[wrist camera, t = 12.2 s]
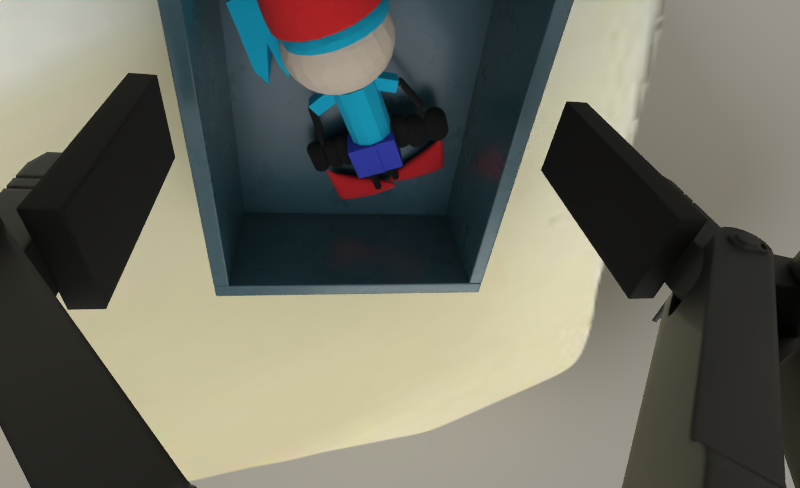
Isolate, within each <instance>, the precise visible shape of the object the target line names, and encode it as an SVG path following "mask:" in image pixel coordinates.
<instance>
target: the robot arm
mask: <svg viewBox="0 0 800 488" xmlns="http://www.w3.org/2000/svg"><path fill="white" fill-rule="evenodd" d="M174 159H175V155H174V150H173V146H172V141H171V137H170V132H169V128H168V123H167V119H166V114H165V110H164V105H163V101H162V96H161V92H160V87H159V83H158V78H157V75H151V74H135V73H128V74H127V75H126V77H125V78H124V79H123V80H122V81H121V83H120V84H119V85H118V86H117V87H116V89H115V90H114V91H113V92H112V93H111V95H110V96H109V97H108V98H107V99H106V101H105V102H104V103H103V104H102V106H101V107H100V108H99V109H98V110H97V112H96V113H95V114H94V115H93V116H92V118H91V119H90V120H89V121H88V122H87V124H86V125H85V126H84V127H83V128H82V130H81V131H80V132H79V133H78V135H77V136H76V137H75V138H74V139H73V141H72V142H71V143H70V144H69V145H68V147H67V148H66V149H65V150H64V151H63V153H57V152H46V153H45V154H43V155H41V156H39V157H37V158H36V159H34V160H32V161H30V162H28V163H27V164H26V165H25V166H24V167H23V168H22V169H21V171H20V172H19V173H18V174H17V175H16V178H13V179H12V180H11V182H10V183H9V184H8V185H7V189H3V190H2V191H1V193H0V426H1V428H2V430H3V432H4V434H5V436H6V438H7V440H8V442H9V444H10V446H11V448H12V450H13V453H14V455H15V457H16V459H17V461H18V463H19V465H20V467H21V469H22V471H23V472H24V474H25V477H26V479H27V481H28V483H29V484H30V487H31V488H196V487H195V486H193V485H191V484H190V483H189V482H188V481H187V479H186V478H185V477H184V475H183V474H182V473H181V471H180V470H179V469H178V467H177V466H176V464H175V463H174V462H173V460H172V459H171V457H170V456H169V454H168V453H167V452H166V450H165V449H164V447H163V446H162V445H161V443H160V442H159V440H158V439H157V438H156V436H155V435H154V433H153V432H152V431H151V429H150V428H149V426H148V425H147V424H146V422H145V421H144V419H143V418H142V417H141V415H140V414H139V412H138V411H137V410H136V408H135V407H134V405H133V404H132V403H131V401H130V400H129V398H128V397H127V396H126V394H125V393H124V391H123V390H122V389H121V387H120V386H119V384H118V383H117V382H116V380H115V379H114V377H113V376H112V375H111V373H110V372H109V370H108V369H107V368H106V366H105V365H104V363H103V362H102V361H101V359H100V358H99V356H98V355H97V354H96V352H95V351H94V349H93V348H92V347H91V345H90V344H89V342H88V341H87V340H86V338H85V337H84V335H83V334H82V333H81V331H80V330H79V328H78V327H77V326H76V324H75V323H74V321H73V320H72V319H71V317H70V316H69V314H68V313H67V312H66V310H65V309H64V307H63V306H62V305H61V303H60V302H59V300H58V299H57V297H56V295H57V293H58V292H59V293H60V295H61V297H62V299H63V301H64V303H65V305H66V307H67V309H68V310H71V309H106V308H107V306H108V303H109V301H110V299H111V297H112V295H113V292H114V290H115V288H116V286H117V284H118V282H119V279H120V277H121V275H122V273H123V271H124V268H125V266H126V264H127V262H128V260H129V257H130V255H131V253H132V251H133V249H134V246H135V244H136V242H137V240H138V238H139V235H140V233H141V231H142V229H143V227H144V225H145V222H146V220H147V218H148V216H149V214H150V211H151V209H152V207H153V205H154V203H155V200H156V198H157V196H158V194H159V192H160V189H161V187H162V185H163V183H164V181H165V178H166V176H167V174H168V172H169V170H170V167H171V165H172V163H173V161H174ZM541 171H542V172H543V174H544V175H545V177H546V178H547V180H548V181H549V183H550V184H551V185H552V187H553V188H554V190H555V191H556V193H557V194H558V196H559V197H560V199H561V200H562V202H563V203H564V205H565V206H566V207H567V209H568V210H569V212H570V213H571V215H572V216H573V218H574V219H575V221H576V222H577V224H578V225H579V227H580V228H581V229H582V231H583V232H584V234H585V235H586V237H587V238H588V240H589V241H590V243H591V244H592V246H593V247H594V249H595V250H596V251H597V253H598V254H599V256H600V257H601V259H602V260H603V262H604V263H605V265H606V266H607V268H608V269H609V270H610V272H611V273H612V275H613V276H614V278H615V279H616V281H617V282H618V284H619V285H620V286H621V288H622V290H623V291H624V293H625V294H626V295H627V297H628V298H629V299H633V298H634V299H636V298H654V296H655V295H656V293H657V292H658V291H659V289H660V288H661V286H662V285H663V283H664V282H665V283H666V284H667V285H668V287H669V288H670V289H671V290H672V293H671V295H670V296H669V297H668V299H667V300H666V302H665V303H664V304H663V306H662V307H661V309H660V310H659V311H658V313H657V314H656V315H655V317H654V318H653V320H652V321H654V322H657V320H658V319H659V318H661V322H660V327H659V331H658V335H657V340H656V344H655V348H654V353H653V357H652V361H651V365H650V370H649V374H648V378H647V383H646V387H645V391H644V395H643V400H642V404H641V408H640V413H639V417H638V421H637V425H636V430H635V434H634V438H633V442H632V447H631V451H630V455H629V460H628V464H627V468H626V473H625V477H624V481H623V485H622V488H786V484H785V467H784V455H785V459H786V461H787V464H788V467H789V470H790V473H791V476H792V479H793V482H794V485H795V488H800V252H799V253H798V254H797V255H796V256H795V257H794V258H788V257H783V256H779V255H774V254H773V252H772V250H771V248H770V247H769V246H768V245H767V244H766V243H765V242H764V241H762V240H761V239H760V238H758V237H757V236H755V235H753V234H751V233H749V232H746V231H744V230H740V229H737V228H733V227H722V228H721V227H719V226H718V225H717V224H716V223H715V222H714V221H713V220H712V219H711V218H710V217H709V216H708V215H707V214H706V213H705V212H704V211H703V210H702V209H701V208H700V207H699V206H697V205H696V204H695V203H692V200H691V199H690V198H689V197H688V196H687V195H685V194H684V192H683V191H682V190H681V189H680V188H678V187H677V185H676V184H674V183H673V182H672V181H670V180H669V179H667V178H665V177H664V176H662V175H661V174H660V173H659V172H658V171H657V170H656V169H655V168H654V167H653V166H652V165H651V164H650V163H649V162H648V161H647V160H645V159H644V158H643V157H642V156H641V155H640V154H639V153H638V152H637V151H636V150H635V149H634V148H633V147H632V146H631V145H630V144H629V143H628V142H627V141H626V140H625V139H624V138H623V137H622V136H621V135H620V134H619V133H618V132H616V131H615V130H614V129H613V128H612V127H611V126H610V125H609V124H608V123H607V122H606V121H605V120H604V119H603V118H602V117H601V116H600V115H599V114H598V113H597V112H596V111H595V110H594V109H593V108H592V107H591V106H590V105H589V104H587V103H582V102H566V104H565V107H564V110H563V112H562V115H561V118H560V121H559V123H558V126H557V129H556V131H555V134H554V137H553V140H552V142H551V145H550V148H549V150H548V153H547V156H546V159H545V161H544V164H543V167H542V169H541Z"/></svg>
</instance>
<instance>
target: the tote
mask: <svg viewBox="0 0 800 488" xmlns="http://www.w3.org/2000/svg"><path fill="white" fill-rule="evenodd" d="M573 1H574V0H389V2H390V3H389V13H390V15H391V17H392V20H393V22H394V25H395V46H394V50H393V54H392V57H391V59H390V61H389V63H388V65H387V67H386V68H385V69H384V72H390V73H397V74H398V78H400V77H401V78H403V79H404V80H405V82H406V83H407V84H408V85H409V86H410V87H411V89H412V90H413V91H414V92H415V93H416V94H417V96H418V97H419V98H420V99H421V100H422V101H423V103H424V105H425V106H424V108H423V110H424V113H425V111H426V110H427V109H429V108H430V107H439V108H441V109H442V110H443V111H444V112H445V114H446V118H447V123H448V128H449V131H448V134H447V136H446V137H445V138H444V139H443V140H442V144H443V157H444V163H443V167H442V168H440V169H439V170H436V171H434V172H431V173H428V174H425V175H422V176H419V177H415V178H411V179H406V180H400V181H390V182H393V183H394V184H395V186H394V187H393V188H391V189H388V190H386V191H383V192H380V193H377V194H374V195H369V196H364V197H359V198H354V199H342V198H341V197H340V196H339V194H338V193H337V191H336V189H335V187H334V185H333V183H332V181H331V179H330V177H329V175H328V173H327V170H329V171H332V172H335V173H341V174H348V175H355V176H358V175H357V172H356V170H355V168H354V166H353V164H351V165H345V164H343V165H342V166H341V167H339V168H334V167H332V166H331V165H330V166H329V168H328V169H327V170H326V171H324V172H320V171H317V170H316V169H315V167H314V165H313V163H312V161H311V159H310V157H309V155H308V153H307V146H308V144H309V143H311V142H313V141H317V142H319V140H318V137H317V135H316V133H315V127H314V125H313V122H312V119H311V116H310V113H309V111H308V104H309V98H310V97H311V96H312V95H314V94H315V93H316V92H315V91H312V90H310V89H308V88H306V87H305V86H303V85H302V84H301V83H299V82H298V81H296V80H295V79H294V78H293V77H292V75H291V74H290V73H289V78H288V76H287V75H286V74H285V73H284V71H283V70H282V69H281V67H280V66H279V65H278V63H277V61H276V59H275V57H274V55H273V53H272V52H271V61H272V65H271V72H270V79H269V84H268V83H267V82H265V81H264V80H263V79H262V78H261V77H260V76H258V75H257V74H256V73H255V72H254V69H253V67H252V65H251V62H250V60H249V57H248V55H247V53H246V50H245V48H244V45H243V43H242V40H241V38H240V36H239V33H238V31H237V28H236V26H235V24H234V21H233V19H232V16H231V14H230V12H229V9H228V7H227V4H226V2H227V0H158V5H159V10H160V15H161V20H162V25H163V30H164V35H165V40H166V46H167V51H168V56H169V61H170V66H171V71H172V76H173V81H174V86H175V91H176V96H177V101H178V106H179V111H180V116H181V121H182V126H183V131H184V136H185V141H186V147H187V152H188V157H189V162H190V167H191V172H192V177H193V182H194V187H195V192H196V197H197V202H198V207H199V212H200V217H201V222H202V227H203V232H204V237H205V243H206V248H207V253H208V258H209V263H210V268H211V273H212V278H213V283H214V287H215V292H216V295H217V296H246V295H313V294H380V293H447V292H478V291H479V288H480V285H481V282H482V279H483V276H484V273H485V270H486V267H487V264H488V261H489V258H490V255H491V252H492V249H493V246H494V243H495V239H496V236H497V233H498V230H499V227H500V224H501V221H502V218H503V215H504V212H505V209H506V206H507V203H508V200H509V197H510V194H511V191H512V188H513V184H514V181H515V178H516V175H517V172H518V169H519V166H520V163H521V160H522V157H523V154H524V151H525V148H526V145H527V142H528V139H529V136H530V132H531V129H532V126H533V123H534V120H535V117H536V114H537V111H538V108H539V105H540V102H541V99H542V96H543V93H544V90H545V87H546V84H547V81H548V77H549V74H550V71H551V68H552V65H553V62H554V59H555V56H556V53H557V50H558V47H559V44H560V41H561V38H562V35H563V32H564V29H565V26H566V22H567V19H568V16H569V13H570V10H571V7H572V4H573ZM381 94H382V97H383V100H384V103H385V106H386V109H387V112H388V115H389V117H390V116H392V115H394V114H401V115H403V116H404V117H406V116H408V115H409V114H418V115H419V112H418V109H417V105H416V104H415V103H414V102H413V101H412V100H411V99H410V97H409V96H408V95H407V94H406V93H405V92H404V91H403V89H402V88H401V87H400V86H399V85H398V87H397V91H396V93H392V92H385V91H381ZM319 117H320V120H321V123H322V126H323V129H324V134H323V135H322V136H323V138H324V140H325V139H327V138H334V139H335V137H336V136H338V135H339V134H345V135H350V133H349V131H348V129H347V127H346V124H345V122H344V120H343V117H342V115H341V113H340V111H339V108H338V106H337V104H336V103H335V104H334V105H333V106H331V107H330V108H329V109H328V110H326V111H325V112H324V113H322V114H321V115H320V116H319ZM433 143H435V141H434V140H431V139H430V138H429V137H428V139H427V141H426V143H425V144H424V145H423V146H421V147H412V146H410V145H408V146H406V147H404V148H400V150H401V156H402V163H403V165H404V164H405V163H407V162H408V161H409V160H411V159H412V158H414V157H415V156H416V155H418V154H419V153H421V152H422V151H423V150H425V149H426V148H427V147H429V146H430V145H432V144H433ZM398 168H400V167H398ZM398 168H396V169H398ZM377 176H378V178H379V179H383V180H387V181H389V178H390V176H391V174H390V171H389V170H387V171H385V172H382V173H379V174H377ZM367 177H369V178H371V177H370V176H367Z"/></svg>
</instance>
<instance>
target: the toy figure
mask: <svg viewBox="0 0 800 488" xmlns="http://www.w3.org/2000/svg"><path fill="white" fill-rule="evenodd" d="M389 3H390V2H389V0H227V2H226V4H227V7H228V9H229V12H230V14H231V16H232V19H233V21H234V24H235V26H236V28H237V31H238V33H239V36H240V38H241V40H242V43H243V45H244V48H245V50H246V53H247V55H248V57H249V60H250V62H251V65H252V67H253V69H254V72H255V73H256V74H257V75H258V76H260V77H261V78H262V79H263V80H264V81H265V82H267V83H268V84H269V79H270V72H271V65H272V61H271V52H272V53H273V55H274V57H275V59H276V61H277V63H278V65H279V66H280V67H281V69H282V70H283V71H284V73H285V74H286V75H287V76H288V78H289V73H290V74H291V75H292V77H293V78H294V79H295V80H296V81H298V82H299V83H301V84H302V85H303V86H305V87H306V88H308V89H310V90H312V91H315V92H316V93H315V94H314V95H312V96H311V97H310V98H309V104H308V111H309V113H310V116H311V119H312V122H313V125H314V127H315V133H316V135H317V137H318V140H319V142H317V141H313V142H311V143H309V144H308V146H307V153H308V155H309V157H310V159H311V161H312V163H313V165H314V167H315V169H316V170H317V171H320V172H324V171H326V170H327V169H328V168H329V166H330V165H331V166H332V167H334V168H339V167H341V166H342V165H343V164H345V165H351V164H353V166H354V168H355V170H356V172H357V175H358V176H355V175H348V174H341V173H335V172H332V171H329V170H327V173H328V175H329V177H330V179H331V181H332V183H333V185H334V187H335V189H336V191H337V193H338V194H339V196H340V197H341V198H342V199H354V198H359V197H364V196H369V195H374V194H377V193H380V192H383V191H386V190H388V189H391V188H393V187H394V186H395V184H394V183H393V182H390V181H400V180H406V179H411V178H415V177H419V176H422V175H425V174H428V173H431V172H434V171H436V170H439V169H440V168H442V167H443V163H444V157H443V144H442V140H443V139H444V138H445V137H446V136H447V134H448V131H449V128H448V123H447V118H446V114H445V112H444V111H443V110H442V109H441V108H439V107H430V108H429V109H427V110H426V111H425V113H424V110H423V108H424V106H425V105H424V103H423V101H422V100H421V99H420V98H419V97H418V96H417V94H416V93H415V92H414V91H413V90H412V89H411V87H410V86H409V85H408V84H407V83H406V82H405V80H404V79H403V78H401V77H400V78H398V74H397V73H390V72H384V69H385V68H386V67H387V65H388V63H389V61H390V59H391V57H392V54H393V50H394V46H395V25H394V22H393V20H392V17H391V15H390V13H389ZM398 85H399V86H400V87H401V88H402V89H403V91H404V92H405V93H406V94H407V95H408V96H409V97H410V99H411V100H412V101H413V102H414V103H415V104H416V105H417V109H418V112H419V115H418V114H409V115H408V116H406V117H404V116H403V115H401V114H394V115H392V116H390V117H389V115H388V112H387V109H386V106H385V103H384V100H383V97H382V94H381V91H385V92H392V93H396V91H397V87H398ZM335 103H336V104H337V106H338V108H339V111H340V113H341V115H342V117H343V120H344V122H345V124H346V127H347V129H348V131H349V133H350V135H345V134H339V135H338V136H336V137H335V139H334V138H327V139H325V140H324V138H323V136H322V135H323V134H324V129H323V126H322V123H321V120H320V117H319V116H320V115H321V114H322V113H324V112H325V111H326V110H328V109H329V108H330V107H331V106H333V105H334V104H335ZM428 137H429V138H430V139H431V140H434V141H435V143H433V144H432V145H430V146H429V147H427V148H426V149H425V150H423V151H422V152H421V153H419V154H418V155H416V156H415V157H414V158H412V159H411V160H409V161H408V162H407V163H405V164H404V165H403V163H402V156H401V150H400V148H404V147H406V146H408V145H410V146H412V147H421V146H423V145H424V144H425V143H426V141H427V139H428ZM398 167H400V168H398ZM396 168H398V169H396ZM387 170H389V171H390V174H391V176H390V178H389V181H387V180H383V179H379V178H378V176H377V174H379V173H382V172H385V171H387ZM367 176H370V177H371V178H369V177H367Z"/></svg>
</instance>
